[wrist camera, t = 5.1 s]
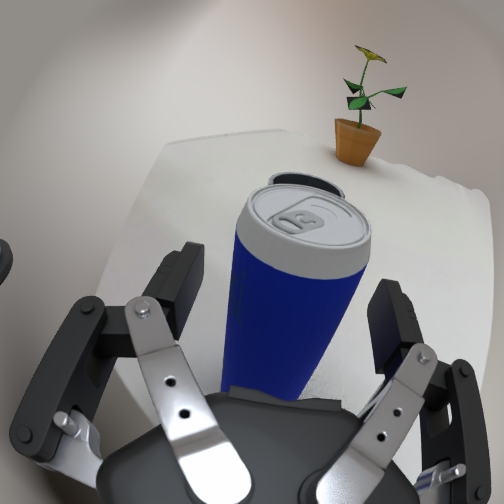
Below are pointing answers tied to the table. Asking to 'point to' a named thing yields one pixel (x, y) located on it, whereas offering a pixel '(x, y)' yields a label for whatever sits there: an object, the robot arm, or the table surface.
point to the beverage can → (290, 285)
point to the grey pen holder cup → (305, 182)
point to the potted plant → (356, 134)
